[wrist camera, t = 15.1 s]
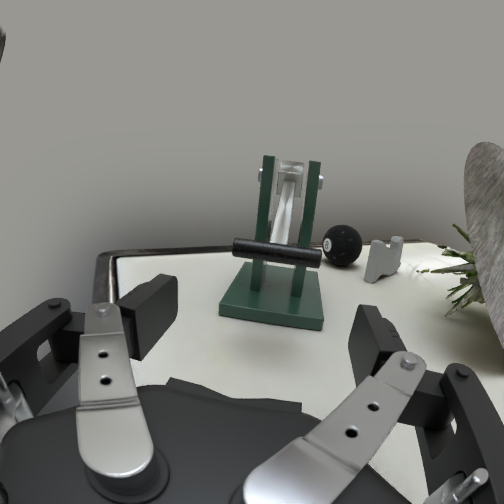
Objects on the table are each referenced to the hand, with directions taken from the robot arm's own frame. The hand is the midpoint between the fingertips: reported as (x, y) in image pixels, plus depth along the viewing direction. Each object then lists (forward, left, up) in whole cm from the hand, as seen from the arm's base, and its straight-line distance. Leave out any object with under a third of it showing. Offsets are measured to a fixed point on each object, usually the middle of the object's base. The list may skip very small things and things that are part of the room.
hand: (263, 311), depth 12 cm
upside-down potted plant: (+29, +9, -7) cm, 31 cm away
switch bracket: (+3, +16, -7) cm, 18 cm away
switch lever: (+2, +12, +2) cm, 12 cm away
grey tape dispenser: (+20, +25, -7) cm, 33 cm away
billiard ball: (+14, +29, -7) cm, 33 cm away
